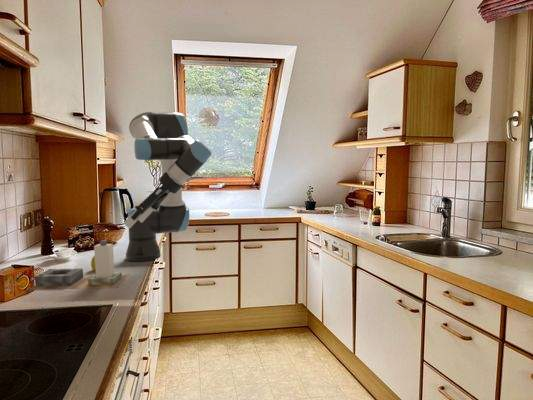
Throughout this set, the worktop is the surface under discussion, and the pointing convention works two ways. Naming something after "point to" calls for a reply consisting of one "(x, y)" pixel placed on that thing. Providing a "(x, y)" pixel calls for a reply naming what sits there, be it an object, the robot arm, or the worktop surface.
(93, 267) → the lemon
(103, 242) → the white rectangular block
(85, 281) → the board
